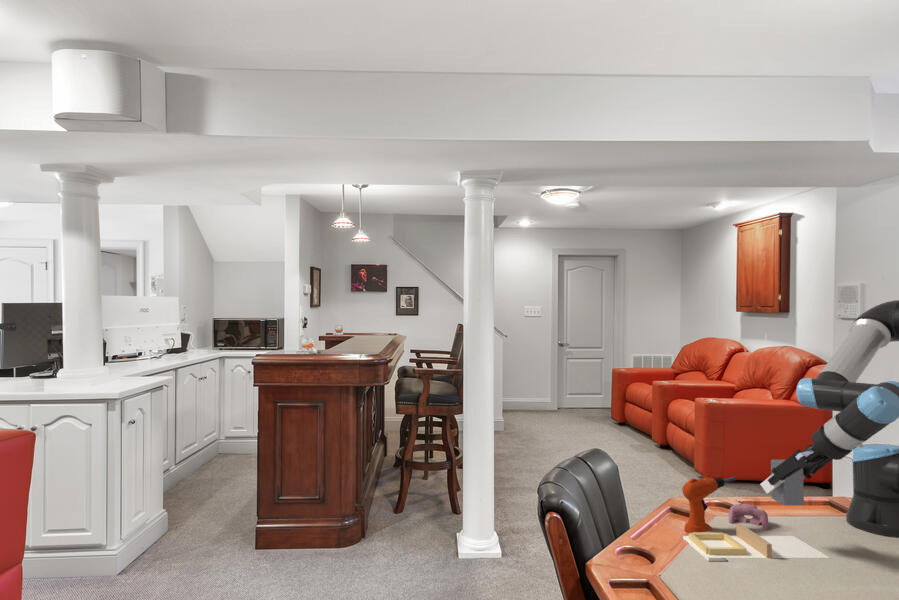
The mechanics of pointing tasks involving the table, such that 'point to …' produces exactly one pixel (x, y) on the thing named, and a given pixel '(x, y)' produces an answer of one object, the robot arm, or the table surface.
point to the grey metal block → (789, 487)
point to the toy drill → (700, 501)
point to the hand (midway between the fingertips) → (774, 487)
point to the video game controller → (751, 510)
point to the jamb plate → (749, 546)
